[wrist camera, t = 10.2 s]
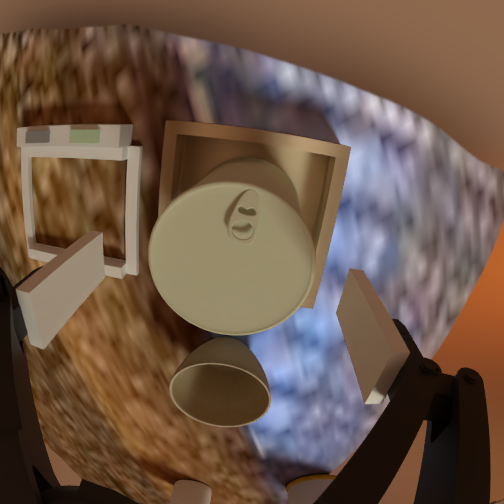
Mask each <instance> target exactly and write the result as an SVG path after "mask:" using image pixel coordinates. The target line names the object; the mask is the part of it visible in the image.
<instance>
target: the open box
mask: <svg viewBox="0 0 504 504" xmlns="http://www.w3.org/2000/svg"><path fill="white" fill-rule="evenodd" d="M350 150H351V147H348V146H345V145H341V144H337V143H332V142H328V141H323V140H318V139H313V138H307V137H302V136H297V135H291V134H285V133H279V132H273V131H266V130H260V129H253V128H245V127H237V126H229V125H220V124H211V123H200V122H189V121H166V124H165V133H164V143H163V153H162V165H161V178H160V192H159V210H158V217H159V215H160V214H161V212H162V211H163V210H164V209H165V207H166V206H167V205H168V204H169V203H170V202H171V201H172V200H173V199H175V198H176V197H177V196H178V195H180V194H181V193H183V192H185V191H186V190H188V189H190V188H192V187H193V186H194V185H196V184H197V183H198V182H200V181H201V180H202V179H203V178H204V177H205V176H206V174H207V173H208V172H209V171H210V170H212V169H213V168H214V167H215V166H217V165H219V164H220V163H222V162H224V161H227V160H230V159H233V158H239V157H253V158H258V159H262V160H265V161H268V162H270V163H272V164H274V165H275V166H277V167H278V168H280V169H281V170H282V171H283V172H284V173H285V174H286V175H287V176H288V177H289V178H290V180H291V181H292V183H293V184H294V186H295V188H296V190H297V193H298V196H299V201H300V209H301V213H302V216H303V219H304V222H305V224H306V225H307V227H308V229H309V231H310V234H311V236H312V240H313V243H314V247H315V253H316V271H315V276H314V280H313V284H312V287H311V289H310V291H309V294H308V295H307V297H306V299H305V301H304V302H303V303H302V305H301V306H300V307H304V308H312V309H313V307H314V303H315V300H316V296H317V293H318V289H319V285H320V282H321V278H322V274H323V270H324V266H325V262H326V259H327V255H328V251H329V247H330V242H331V238H332V234H333V230H334V226H335V221H336V217H337V213H338V208H339V204H340V199H341V194H342V190H343V185H344V180H345V175H346V170H347V165H348V160H349V155H350Z"/></svg>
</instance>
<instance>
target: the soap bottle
mask: <svg viewBox="0 0 504 504" xmlns="http://www.w3.org/2000/svg"><path fill="white" fill-rule="evenodd" d="M335 477H336V476H334V475H327V474H324V475H311V476H305V477H301V478H298V479H295V480H293V481H292V482H290V483H288V485H287V488H286V491H287V492H288V504H313V503H314V502H315V501H316V500H317V498H318V497H319V496H320V495H321V494H322V493H323V492H324V490H325V489H326V488H327V487H328V486H329V485H330V483H331V482H332V481H333V480H334V479H335Z"/></svg>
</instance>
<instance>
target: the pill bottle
mask: <svg viewBox="0 0 504 504" xmlns="http://www.w3.org/2000/svg"><path fill="white" fill-rule="evenodd" d="M210 499H211V488H210V487H209V486H207V485H205V484H203V483H200V482H197V481H192V480H178V481H176V482H175V484H174V488H173V492H172V496H171V500H170V504H210Z"/></svg>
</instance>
